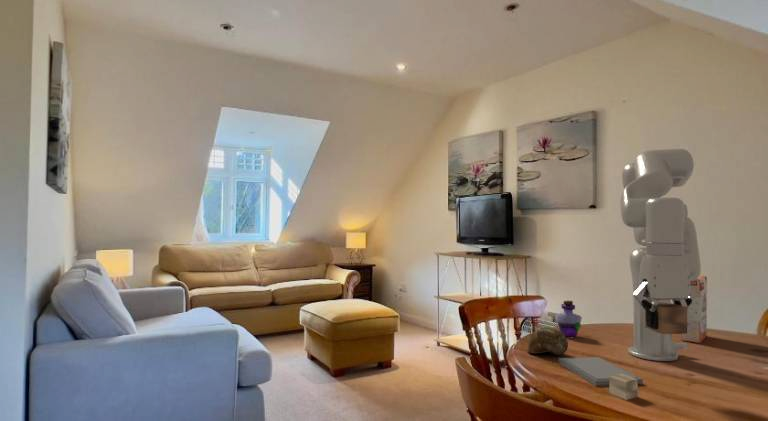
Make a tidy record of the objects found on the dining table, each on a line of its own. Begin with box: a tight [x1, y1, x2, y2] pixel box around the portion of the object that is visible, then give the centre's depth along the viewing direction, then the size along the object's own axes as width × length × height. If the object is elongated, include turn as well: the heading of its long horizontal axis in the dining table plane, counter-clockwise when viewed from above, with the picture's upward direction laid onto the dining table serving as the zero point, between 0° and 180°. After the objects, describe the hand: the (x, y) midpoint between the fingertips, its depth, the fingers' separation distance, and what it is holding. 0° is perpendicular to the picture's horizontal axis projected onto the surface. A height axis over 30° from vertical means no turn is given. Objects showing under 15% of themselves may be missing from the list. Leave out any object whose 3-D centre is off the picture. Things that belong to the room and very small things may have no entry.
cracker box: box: [680, 275, 708, 344], centre depth 152 cm, size 14×6×21 cm, turn 137°
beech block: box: [608, 374, 639, 401], centre depth 101 cm, size 4×4×4 cm
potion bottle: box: [555, 300, 583, 338], centre depth 154 cm, size 9×9×12 cm
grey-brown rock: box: [526, 326, 569, 356], centre depth 133 cm, size 11×9×8 cm
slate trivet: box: [557, 356, 644, 387], centre depth 116 cm, size 12×18×1 cm, turn 6°
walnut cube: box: [645, 302, 687, 335], centre depth 105 cm, size 6×6×6 cm
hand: (665, 326), depth 105 cm, fingers closed on walnut cube, 6 cm apart
